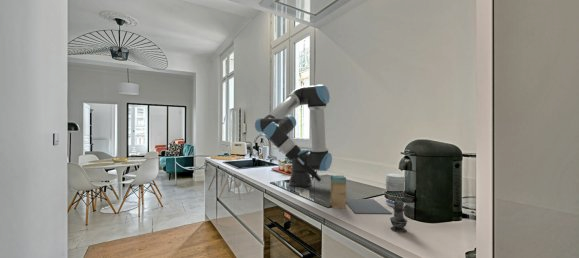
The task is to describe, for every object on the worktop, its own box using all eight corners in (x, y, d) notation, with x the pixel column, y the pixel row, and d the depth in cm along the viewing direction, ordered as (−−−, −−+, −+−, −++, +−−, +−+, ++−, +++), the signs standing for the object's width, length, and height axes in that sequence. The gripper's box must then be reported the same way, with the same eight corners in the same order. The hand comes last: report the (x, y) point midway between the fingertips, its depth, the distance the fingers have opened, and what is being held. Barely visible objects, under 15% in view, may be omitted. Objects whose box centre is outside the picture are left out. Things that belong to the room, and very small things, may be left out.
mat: (342, 199, 127) (342, 198, 127) (373, 199, 127) (373, 199, 127) (354, 213, 105) (354, 212, 105) (391, 213, 105) (391, 213, 105)
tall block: (330, 204, 119) (330, 175, 119) (342, 204, 119) (342, 175, 119) (332, 207, 113) (333, 177, 113) (345, 208, 113) (346, 177, 113)
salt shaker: (392, 225, 92) (392, 193, 92) (409, 229, 88) (409, 196, 89) (387, 230, 88) (387, 196, 88) (405, 234, 84) (405, 199, 84)
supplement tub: (392, 201, 125) (392, 172, 125) (410, 205, 118) (411, 175, 118) (382, 204, 119) (382, 174, 119) (401, 209, 112) (401, 177, 112)
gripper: (284, 153, 122) (317, 187, 122) (284, 156, 109) (320, 194, 109) (295, 143, 122) (327, 176, 122) (296, 144, 109) (332, 182, 109)
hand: (324, 184), depth 116 cm, fingers closed
